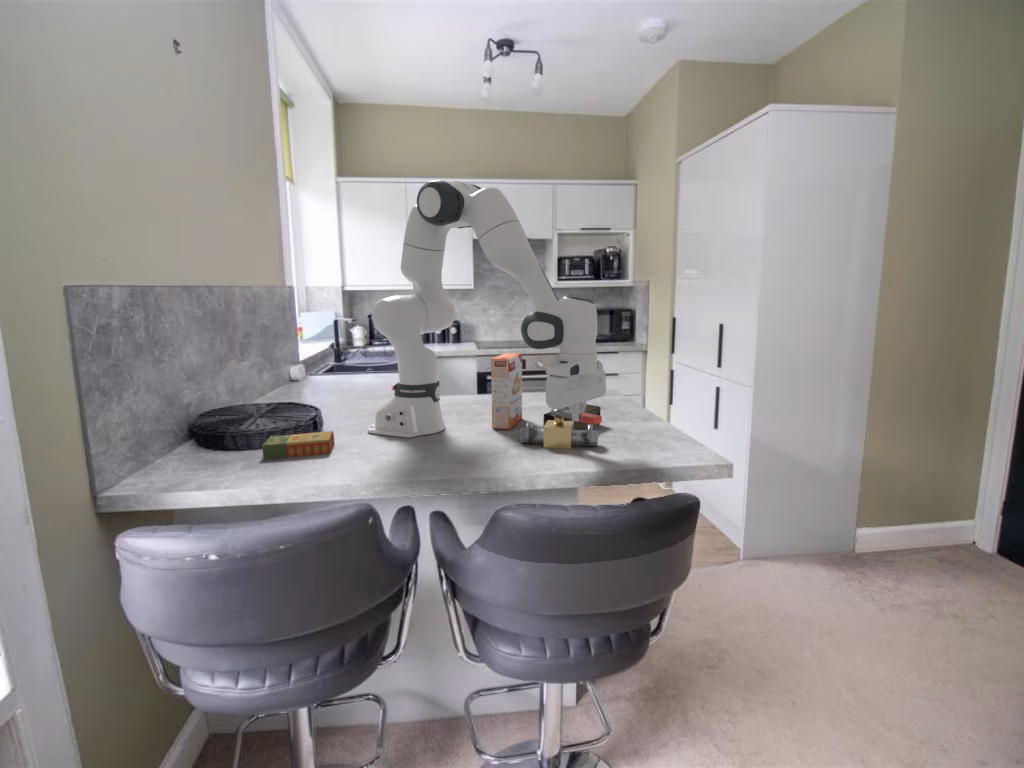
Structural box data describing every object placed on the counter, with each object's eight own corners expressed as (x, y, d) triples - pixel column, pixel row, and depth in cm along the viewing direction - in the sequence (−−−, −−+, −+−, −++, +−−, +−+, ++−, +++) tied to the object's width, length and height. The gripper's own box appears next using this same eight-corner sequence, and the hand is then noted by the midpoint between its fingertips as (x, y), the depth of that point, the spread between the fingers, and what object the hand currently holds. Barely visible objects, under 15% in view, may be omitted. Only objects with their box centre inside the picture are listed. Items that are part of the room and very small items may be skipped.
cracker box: (511, 430, 149) (509, 358, 145) (491, 429, 150) (489, 358, 146) (523, 418, 162) (522, 352, 158) (505, 417, 163) (503, 352, 160)
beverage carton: (601, 425, 153) (602, 403, 152) (565, 441, 139) (565, 417, 137) (579, 421, 158) (579, 400, 157) (541, 435, 144) (541, 413, 142)
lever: (548, 415, 133) (547, 409, 133) (558, 412, 136) (558, 406, 136) (592, 425, 123) (592, 418, 123) (602, 421, 126) (602, 415, 125)
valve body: (518, 446, 134) (518, 417, 132) (524, 438, 140) (523, 411, 139) (596, 450, 129) (597, 420, 128) (598, 442, 136) (598, 413, 134)
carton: (330, 455, 131) (329, 439, 130) (262, 460, 128) (261, 444, 127) (334, 445, 139) (333, 430, 138) (271, 450, 136) (269, 434, 135)
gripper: (591, 358, 133) (590, 410, 135) (541, 367, 118) (541, 426, 120) (613, 360, 128) (611, 414, 131) (563, 370, 114) (562, 431, 116)
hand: (577, 420), depth 126 cm, fingers closed
